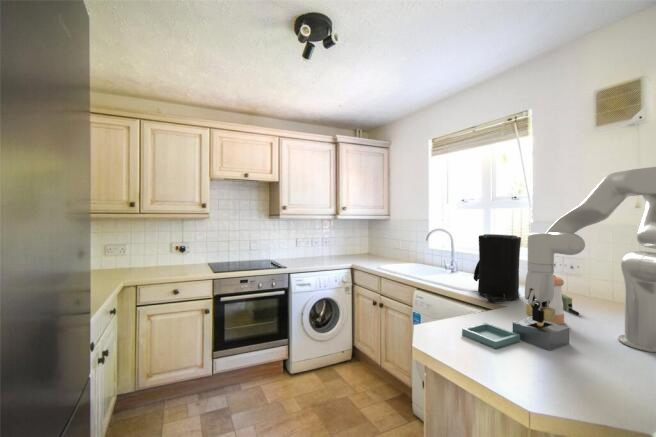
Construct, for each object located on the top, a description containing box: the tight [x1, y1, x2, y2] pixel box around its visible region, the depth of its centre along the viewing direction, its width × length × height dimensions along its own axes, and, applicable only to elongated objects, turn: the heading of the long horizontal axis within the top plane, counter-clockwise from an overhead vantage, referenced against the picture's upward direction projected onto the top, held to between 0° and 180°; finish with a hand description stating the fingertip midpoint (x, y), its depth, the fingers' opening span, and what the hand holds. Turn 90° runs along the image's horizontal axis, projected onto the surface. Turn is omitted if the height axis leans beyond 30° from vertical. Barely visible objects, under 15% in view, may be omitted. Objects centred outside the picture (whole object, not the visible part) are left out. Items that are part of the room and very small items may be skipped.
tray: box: [461, 322, 521, 350], centre depth 107 cm, size 13×13×2 cm
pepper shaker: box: [547, 274, 565, 325], centre depth 124 cm, size 7×7×19 cm
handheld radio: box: [561, 293, 580, 316], centre depth 143 cm, size 7×3×25 cm
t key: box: [525, 303, 555, 329], centre depth 105 cm, size 8×2×12 cm, turn 26°
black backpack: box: [473, 233, 522, 303], centre depth 163 cm, size 23×32×34 cm
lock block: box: [512, 316, 570, 352], centre depth 105 cm, size 12×12×6 cm
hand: (540, 320), depth 105 cm, fingers closed on t key, 2 cm apart
